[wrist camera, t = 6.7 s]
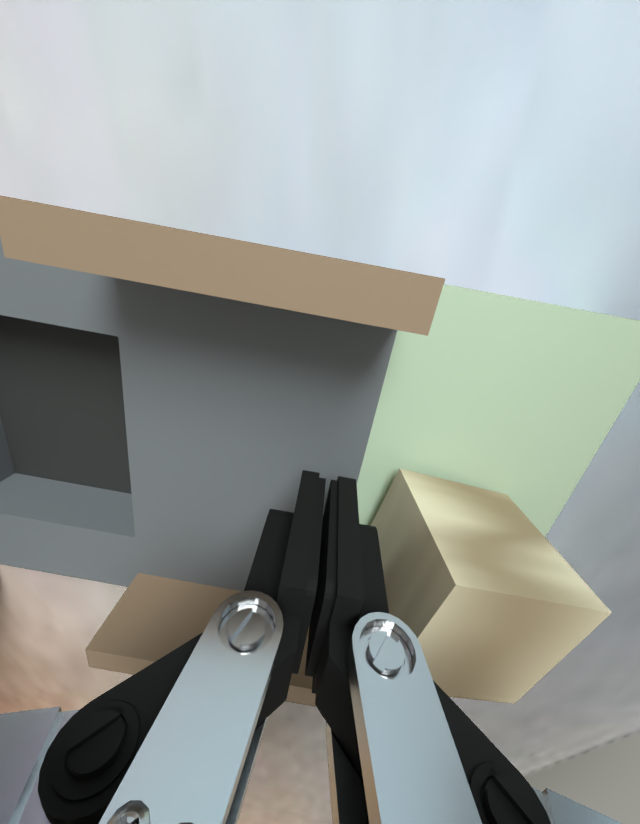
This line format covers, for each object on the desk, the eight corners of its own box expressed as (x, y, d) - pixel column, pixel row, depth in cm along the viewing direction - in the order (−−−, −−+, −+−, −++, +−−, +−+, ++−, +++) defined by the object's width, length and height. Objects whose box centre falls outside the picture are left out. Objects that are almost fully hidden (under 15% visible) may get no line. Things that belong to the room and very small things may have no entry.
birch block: (507, 494, 11) (612, 613, 7) (451, 573, 12) (514, 703, 9) (399, 468, 10) (456, 585, 6) (355, 555, 12) (380, 689, 8)
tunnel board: (601, 316, 11) (833, 351, 6) (458, 596, 16) (511, 740, 11) (-81, 188, 10) (-473, 107, 5) (11, 516, 16) (-140, 626, 11)
